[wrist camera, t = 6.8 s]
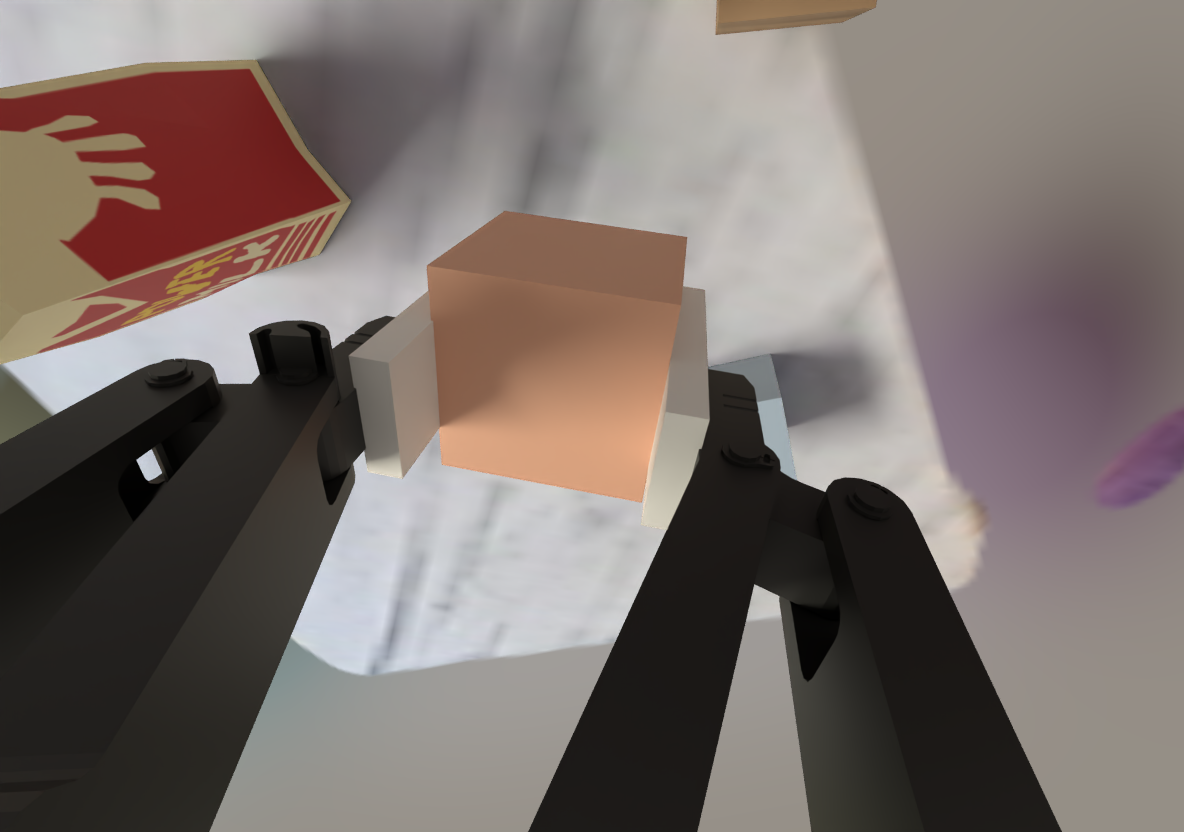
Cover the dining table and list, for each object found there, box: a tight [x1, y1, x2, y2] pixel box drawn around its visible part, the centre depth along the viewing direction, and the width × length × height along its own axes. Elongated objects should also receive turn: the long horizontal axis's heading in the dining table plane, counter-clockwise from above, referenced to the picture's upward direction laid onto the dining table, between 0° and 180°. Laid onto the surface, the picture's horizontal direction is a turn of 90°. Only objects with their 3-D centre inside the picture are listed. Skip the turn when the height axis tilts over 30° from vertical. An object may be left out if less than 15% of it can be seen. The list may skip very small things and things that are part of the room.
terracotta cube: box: [427, 211, 687, 502], centre depth 14 cm, size 5×5×5 cm
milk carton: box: [0, 60, 351, 364], centre depth 21 cm, size 9×9×20 cm
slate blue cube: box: [708, 354, 797, 480], centre depth 29 cm, size 5×5×5 cm
